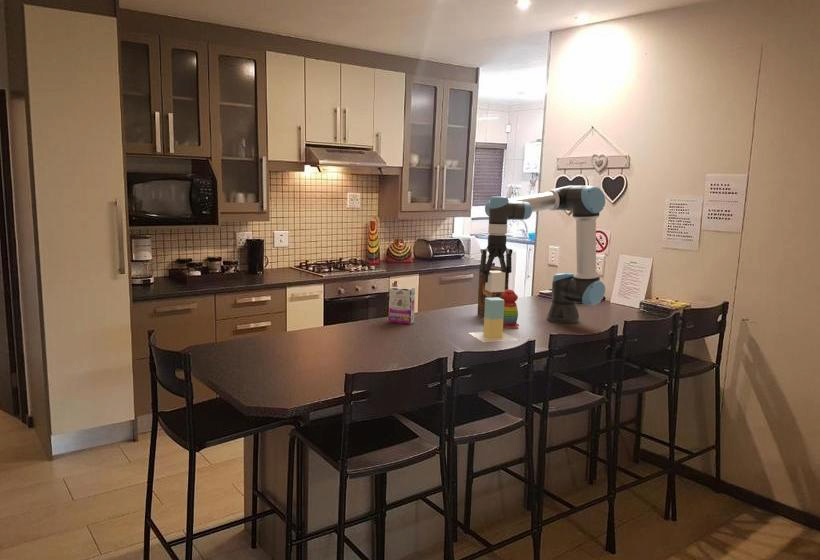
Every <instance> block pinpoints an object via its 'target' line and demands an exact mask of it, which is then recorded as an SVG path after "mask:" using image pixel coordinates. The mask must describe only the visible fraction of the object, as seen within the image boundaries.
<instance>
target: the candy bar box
mask: <svg viewBox="0 0 820 560" xmlns="http://www.w3.org/2000/svg"><path fill="white" fill-rule="evenodd" d="M415 290H416V288H413V287H406V286H405V287H404V286H402V287H401V286H391V287H389V288H388V299H389V300H388V323H391V324H404V325H412V324H414V323H415V303H416V302H415V299H416V298H415V297H416V296H415V295H416V293H415V292H416V291H415Z"/></svg>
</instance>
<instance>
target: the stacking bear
mask: <svg viewBox="0 0 820 560" xmlns="http://www.w3.org/2000/svg"><path fill="white" fill-rule="evenodd" d="M501 297H502V299H503V300H504V319H503V329H507V330H519V327H520V325H519V323H517V322H518V318H519V310H518V306H517V303H516V302H517V300H518V299H519V296H518V294H516V292H515V291H514V290H513V289H509V288H508V289H507V290H505V292H502V294H501Z"/></svg>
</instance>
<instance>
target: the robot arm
mask: <svg viewBox="0 0 820 560" xmlns="http://www.w3.org/2000/svg"><path fill="white" fill-rule="evenodd" d="M605 196H606V195H605V194H604V192H603V190H601V188H600V187H597V186H594V185H566V186H561V187H558V188H553V189H548V190H547V191H546V192H543V193H537V194H536V193H535V194H529V195H525V196H524V195H523V196H517V197H512V198H509V197H508V196H496V195H495V196H490V198H489V200H488V202H486V204H485V206H484V212H485V214H486V216H488V235H487V246H486V248H481V249H480V254H481V255H480V263H479V265H480V273H483V274H484V282H485V290H487V291H490V275H488V274H489V271H490V268H491V266H493V261H494V260H495V258H498V261H499V265H500V267H501V269H502V272H505V282H506V281H507V275H508V273H509V274H510V273H512V271H513V270H512V254H513V251H514V250H513V249H511V248H508V247H507V238H508V237H507V234H508V221H510V220H513V221H514V220H515V221H516V220H517V221H518V220H520V221H524V220H528V219H530V217H531V216H532V213H533V212H540V211H545V210H549V211H565V212H566V211H568V212H572V218H574V220H575V232H576V237H575V238H576V240H575V241H576V242H575V243H576V249H575V250H576V272H562V273H561V272H560V273H555V274H554V275H553V276H552V281H551V283H552V284H551V285H552V286H551V287H552V288H551V303H550V307H549V309H548V312H547V314H546V320H547V321H548V322H552V323H557V324H577V323H579V322H580V315H579V311H578V308H577V303H579V304H582V305H585V306H586V305H587V306H596V305H598V304H600V303H601V301H602V300H603V299H604V297H605V295H606V285H605V284H604V282H603V281H602V280H600V279H601V275H600V274H599V273H598V272H597V219H598V218H599V217H600V212H602V211H603V210H604V207H605V206H606V198H605ZM505 253H506V254H505ZM487 254H488V256H487ZM504 254H505V255H504ZM485 265H486V267H485Z"/></svg>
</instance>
